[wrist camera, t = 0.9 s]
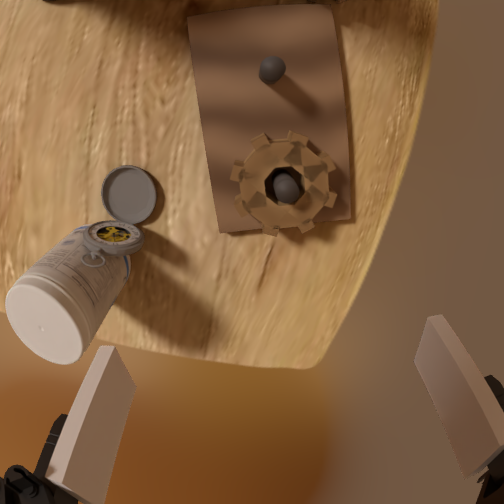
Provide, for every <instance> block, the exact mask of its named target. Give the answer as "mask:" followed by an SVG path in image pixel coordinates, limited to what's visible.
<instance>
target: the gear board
mask: <svg viewBox="0 0 504 504" xmlns="http://www.w3.org/2000/svg"><path fill="white" fill-rule="evenodd" d="M187 25H188V33H189V41H190V48H191V56H192V63H193V70H194V77H195V84H196V91H197V98H198V105H199V111H200V118H201V124H202V131H203V137H204V144H205V150H206V156H207V162H208V168H209V174H210V180H211V186H212V192H213V198H214V204H215V209H216V215H217V221H218V226H219V232H220V233H228V232H236V231H245V230H253V229H262V233H264V234H268V235H272V236H276V237H277V234H278V231H279V229H280V228H289V227H299V229H300V231H301V233H302V234H303V233H305V232H307V231H309V230H311V229H313V228H315V226H314V224H313V223H316V222H325V221H335V220H345V219H351V197H350V167H349V148H348V132H347V120H346V108H345V98H344V89H343V80H342V72H341V64H340V57H339V50H338V43H337V37H336V30H335V25H334V19H333V13H332V8H331V4H288V5H269V6H257V7H247V8H238V9H230V10H223V11H217V12H211V13H205V14H200V15H195V16H190V17H187Z"/></svg>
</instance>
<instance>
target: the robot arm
mask: <svg viewBox="0 0 504 504" xmlns="http://www.w3.org/2000/svg"><path fill="white" fill-rule="evenodd" d="M45 1H54V0H45ZM414 364H415V366H416V368H417V370H418V372H419V374H420V376H421V378H422V380H423V382H424V384H425V386H426V389H427V391H428V393H429V395H430V397H431V399H432V402H433V404H434V406H435V408H436V411H437V413H438V415H439V417H440V419H441V422H442V424H443V427H444V429H445V431H446V434H447V436H448V439H449V441H450V444H451V446H452V449H453V451H454V454H455V456H456V459H457V461H458V464H459V467H460V470H461V472H462V474H463V478H464V479H466V478H469V477H471V476H473V475H475V474H477V473H479V472H480V471H482V470H483V469H484V468H485V467H486V466H488V469H489V470H488V471H487V472H486V473H484V474H483V475H482V476H481V477H480V478H479V479H478V481H477V483H479V482H481V481H482V480H483V479H484V482H483V483H482V484H483V485H482V488H481V491H480V494H479V496H478V499H477V502H476V504H504V388H503V386H502V385H501V383H500V382H499V381H498V380H497V379H495V378H494V377H493V376H492V375H489V376H487V377H483V375H482V374H481V372H480V370H479V369H478V367H477V366H476V364H475V362H474V361H473V360H472V358H471V356H470V355H469V353H468V352H467V350H466V349H465V347H464V346H463V344H462V342H461V341H460V340H459V338H458V337H457V335H456V334H455V332H454V331H453V329H452V328H451V326H450V325H449V324H448V322H447V321H446V319H445V318H444V317H443V315H442V314H440V315H435V316H430V317H427V320H426V324H425V328H424V331H423V334H422V337H421V340H420V343H419V346H418V350H417V353H416V356H415V358H414ZM135 390H136V385H135V383H134V381H133V380H132V378H131V376H130V374H129V372H128V370H127V369H126V367H125V365H124V363H123V361H122V359H121V357H120V355H119V353H118V351H117V349H116V347H115V346H100V347H99V349H98V351H97V353H96V355H95V358H94V360H93V362H92V364H91V366H90V368H89V370H88V372H87V374H86V377H85V378H84V381H83V383H82V385H81V387H80V389H79V392H78V394H77V396H76V398H75V401H74V403H73V405H72V408H71V410H70V412H69V415H66V414H61V415H60V416H59V417H58V418H57V420H56V421H55V422H54V424H53V426H52V428H51V430H50V435H48V438H47V440H46V443H45V445H44V448H43V450H42V453H41V455H40V458H39V460H38V464H37V466H36V469H35V471H34V473H33V474H32V473H31V472H29V471H28V470H27V469H25V468H24V467H23V466H21V465H13V466H11V467H10V468H8V470H7V471H6V472H5V475H4V479H3V478H1V477H0V504H78V500H79V501H80V502H82V503H84V504H104V502H105V498H106V494H107V490H108V486H109V481H110V477H111V473H112V470H113V466H114V462H115V458H116V455H117V451H118V447H119V443H120V440H121V436H122V433H123V429H124V426H125V422H126V419H127V416H128V413H129V409H130V406H131V403H132V400H133V396H134V393H135Z"/></svg>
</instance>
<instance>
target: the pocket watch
mask: <svg viewBox="0 0 504 504" xmlns="http://www.w3.org/2000/svg"><path fill="white" fill-rule="evenodd" d="M101 196H102V202H103V205H104V207H105V209H106V210H107V212H108V213H109V214H110V215H111V216H112V217H113V218H114V219H116V221H111V220H110V221H101V222H97V223H94V224H92V225H90V226H88V227H87V228H86V229H85V230H84V232H83V241H84V244H85V246H86V247H87V248H88V249H89V250H90V251H92V252H91V253H86V254H84V255H82V257H81V261H82V262H83V263H84V264H85V265H87V266H89V267H94V268H97V267H102V266H104V265H105V264H106V259H105V258H104V257H103V256H102V255H104V256H112V257H118V256H126V255H130V254H133V253H135V252H137V251H138V250H140V249H141V247H142V245H143V243H144V238H145V237H144V233H143V232H142V231H141V230H140V229H139V228H137V227H136V226H134V224H136V223H139V222H142V221H143V220H145V219H146V218H147V217H148V216H150V214H151V213H152V211H153V210H154V207H155V205H156V200H157V192H156V187H155V184H154V182H153V180H152V178H151V177H150V176H149V175H148V174H147V173H146V172H145V171H144V170H142V169H141V168H138V167H136V166H132V165H125V166H120V167H118V168H116V169H113V170H112V171H111V172H110V173H109V174H108V175H107V176H106V178H105V179H104V181H103V184H102V189H101ZM104 235H105V236H104ZM119 235H122V236H124V237H120V236H119ZM99 237H102V239H100V238H99ZM115 237H116V238H115ZM125 237H126V238H125ZM124 238H125V239H127V240H125V239H124ZM88 255H91V256H92V259H93V260H96V259H100V258H102V259H103V263H102V264H100V265H90V264H88V263H86V262H85V261H84V257H85V256H88Z"/></svg>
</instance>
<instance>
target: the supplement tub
mask: <svg viewBox="0 0 504 504" xmlns="http://www.w3.org/2000/svg"><path fill="white" fill-rule="evenodd" d="M90 225H92V224H85V225H82V226H80V227H78V228H76V229H75V230H73V231H72V232H71V233H70V234H69V235H67V236H66V237H65V238H64V239H63V240H61V241H60V242H59V243H58V244H57V245H55V246H54V247H53V248H52V249H51V250H50V251H48V252H47V253H46V254H45V255H44V256H43V257H42V258H40V259H39V260H38V261H37V262H36V263H35V264H34V265H33V266H32V267H30V268H29V269H28V270H27V271H26V272H25V273H24V274H23V275H22V276H21V277H20V278H19V279H18V280H17V281H16V282H15V284H14V286H13V287H12V288H11V289H10V290H9V292H8V294H7V296H6V303H5V305H6V312H7V316H8V319H9V321H10V324H11V326H12V328H13V329H14V331H15V333H16V334H17V335H18V337H19V338H20V339H21V340H22V342H23V343H24V344H25V345H26V346H27V347H28V348H29V349H31V350H32V351H33V352H34V353H36V354H37V355H39V356H40V357H42V358H44V359H46V360H48V361H51V362H53V363H57V364H72V363H75V362H76V361H78V360H79V359H80V358H81V356H82V355H83V353H84V352H85V351H86V350H87V348H88V346H89V345H90V343H91V341H92V339H93V338H94V336H95V334H96V332H97V331H98V329H99V327H100V325H101V324H102V322H103V320H104V318H105V317H106V315H107V313H108V311H109V310H110V308H111V306H112V305H113V303H114V301H115V300H116V298H117V296H118V295H119V293H120V292H121V290H122V288H123V287H124V285H125V283H126V282H127V280H128V278H129V275H130V271H131V260H130V256H129V255H126V256H118V257H112V256H104V255H102V256H103V257H104V258H105V259H106V264H105V265H104V266H102V267H97V268H94V267H89V266H87V265H85V264H84V263H83V262H82V261H81V257H82V255H84V254H86V253H91V252H92V251H90V250H89V249H88V248H87V247H86V246H85V244H84V241H83V232H84V230H85V229H86V228H87V227H88V226H90ZM104 236H105V235H104ZM99 238H100V239H102V237H99ZM115 238H116V237H115ZM84 261H85V262H86V263H88V264H90V265H100V264H102V263H103V259H102V258H100V259H96V260H93V259H92V256H91V255H88V256H85V257H84Z"/></svg>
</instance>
